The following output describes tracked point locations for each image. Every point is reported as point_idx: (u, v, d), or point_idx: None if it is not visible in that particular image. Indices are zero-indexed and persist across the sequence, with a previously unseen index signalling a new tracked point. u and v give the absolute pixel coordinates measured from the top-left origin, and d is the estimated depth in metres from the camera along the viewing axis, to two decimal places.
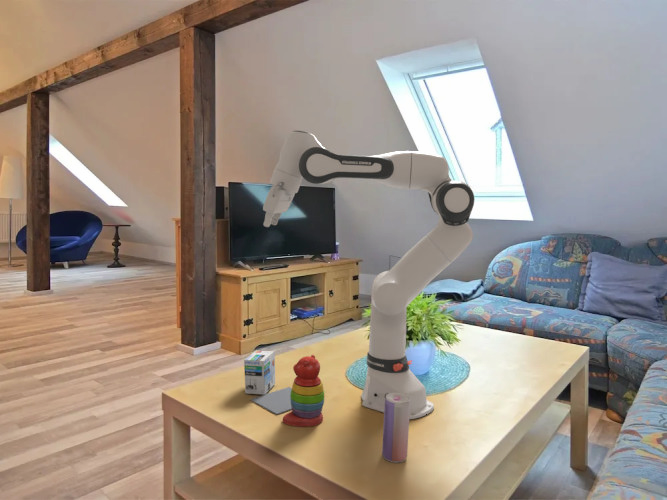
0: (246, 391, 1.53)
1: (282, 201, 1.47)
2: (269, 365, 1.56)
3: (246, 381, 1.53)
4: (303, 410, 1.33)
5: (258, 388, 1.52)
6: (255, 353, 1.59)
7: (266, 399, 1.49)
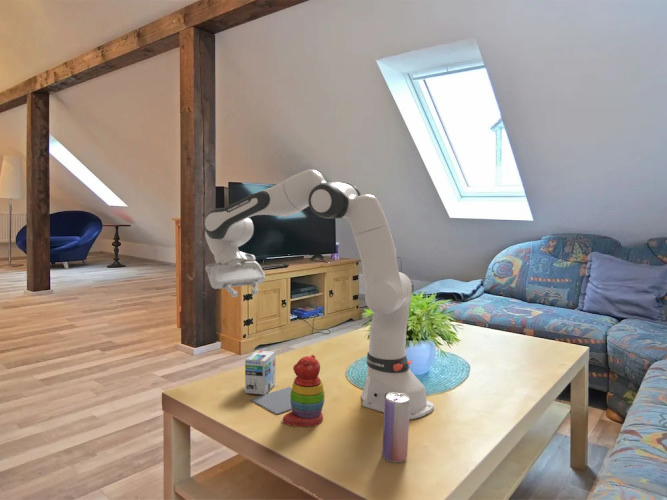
0: (246, 391, 1.53)
1: (229, 272, 1.66)
2: (270, 365, 1.56)
3: (246, 381, 1.53)
4: (303, 410, 1.33)
5: (258, 388, 1.52)
6: (256, 353, 1.59)
7: (266, 399, 1.49)
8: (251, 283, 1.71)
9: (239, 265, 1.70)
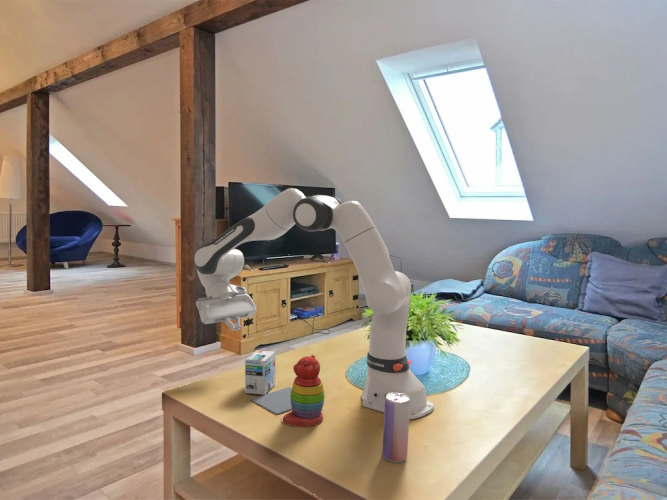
0: (246, 391, 1.53)
1: (220, 306, 1.66)
2: (270, 365, 1.56)
3: (246, 381, 1.53)
4: (303, 410, 1.33)
5: (258, 388, 1.52)
6: (256, 353, 1.59)
7: (266, 399, 1.49)
8: (234, 318, 1.69)
9: (230, 299, 1.70)
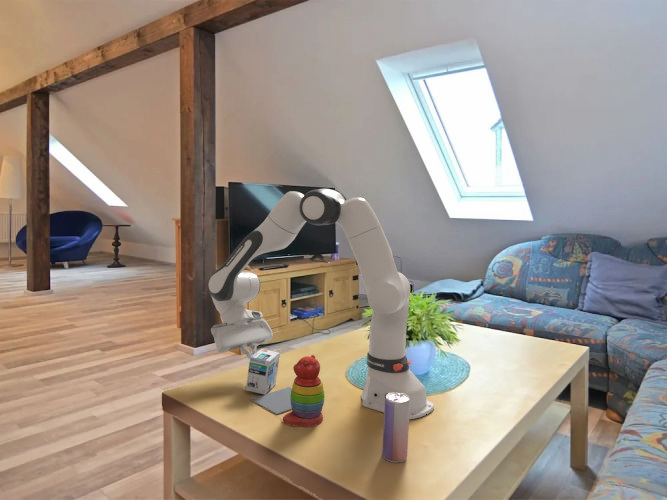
0: (247, 388, 1.53)
1: (236, 333, 1.60)
2: (273, 366, 1.56)
3: (248, 378, 1.53)
4: (303, 410, 1.33)
5: (259, 387, 1.52)
6: (261, 351, 1.59)
7: (266, 399, 1.49)
8: (250, 345, 1.63)
9: (246, 325, 1.64)
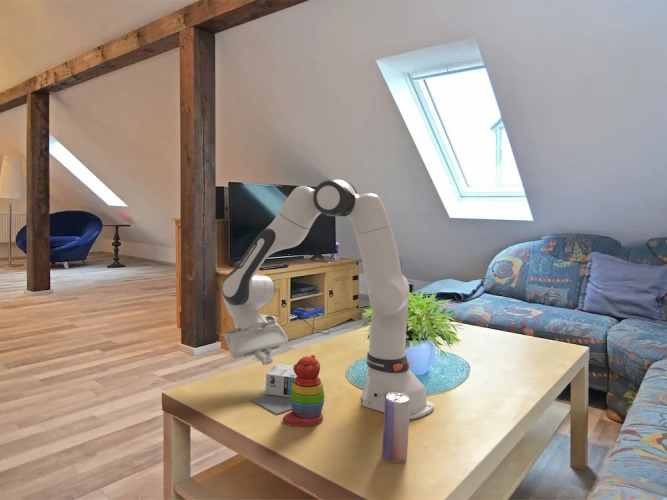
0: (268, 375, 1.51)
1: (250, 339, 1.54)
2: None
3: (278, 377, 1.51)
4: (303, 410, 1.33)
5: (271, 388, 1.51)
6: None
7: (266, 399, 1.49)
8: (265, 351, 1.57)
9: (260, 330, 1.58)
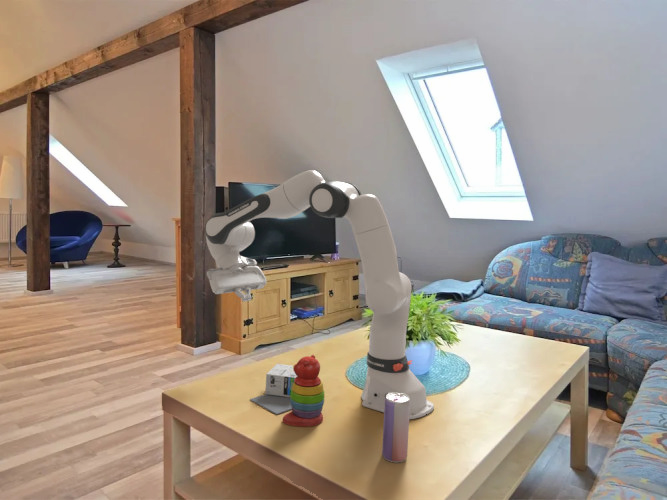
0: (268, 375, 1.51)
1: (231, 277, 1.66)
2: None
3: (278, 377, 1.51)
4: (303, 410, 1.33)
5: (271, 388, 1.51)
6: None
7: (266, 399, 1.49)
8: (244, 289, 1.68)
9: (240, 270, 1.69)
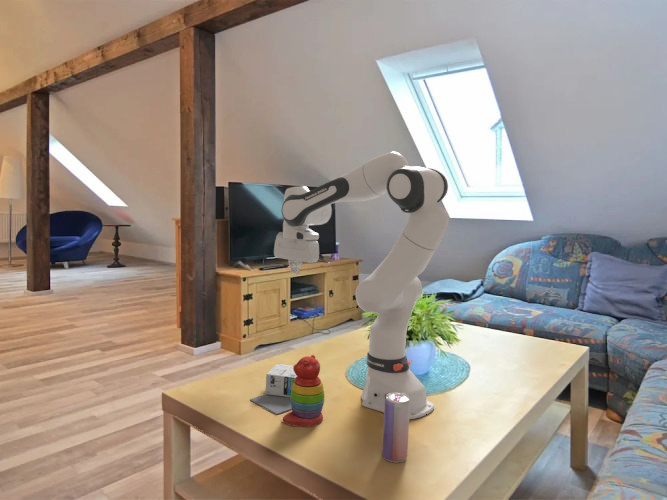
0: (268, 375, 1.51)
1: (285, 248, 1.74)
2: None
3: (278, 377, 1.51)
4: (303, 410, 1.33)
5: (271, 388, 1.51)
6: None
7: (266, 399, 1.49)
8: None
9: (292, 243, 1.70)
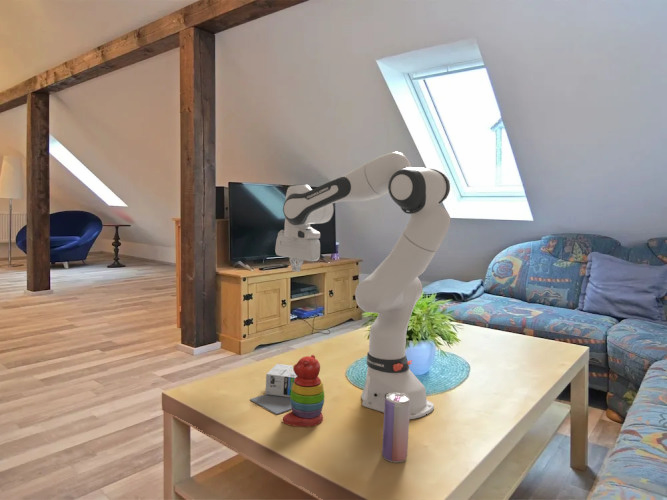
0: (268, 375, 1.51)
1: (286, 246, 1.74)
2: None
3: (278, 377, 1.51)
4: (303, 410, 1.33)
5: (271, 388, 1.51)
6: None
7: (266, 399, 1.49)
8: None
9: (293, 241, 1.70)
